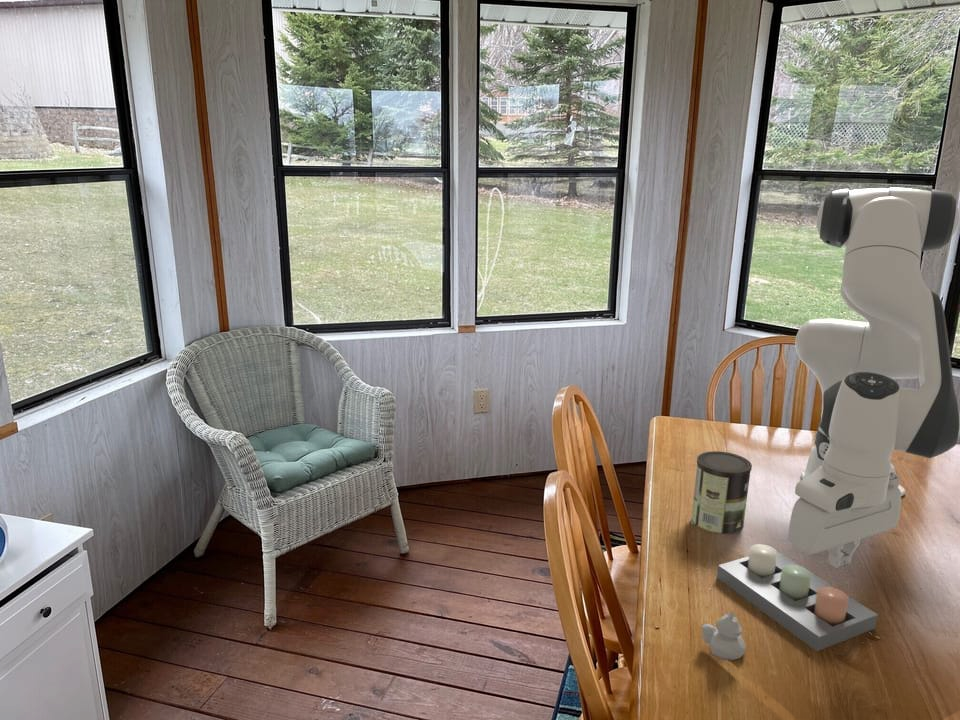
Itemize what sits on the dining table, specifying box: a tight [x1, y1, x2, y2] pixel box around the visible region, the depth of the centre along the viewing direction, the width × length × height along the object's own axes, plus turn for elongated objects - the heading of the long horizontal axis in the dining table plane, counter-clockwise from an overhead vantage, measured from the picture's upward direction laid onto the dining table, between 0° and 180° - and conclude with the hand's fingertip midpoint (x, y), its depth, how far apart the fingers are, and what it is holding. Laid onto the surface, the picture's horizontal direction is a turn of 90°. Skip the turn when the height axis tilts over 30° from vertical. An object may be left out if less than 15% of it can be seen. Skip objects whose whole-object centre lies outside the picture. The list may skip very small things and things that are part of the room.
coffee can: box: [690, 451, 753, 535], centre depth 144 cm, size 10×10×14 cm
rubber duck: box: [701, 610, 747, 662], centre depth 108 cm, size 5×7×8 cm
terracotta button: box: [814, 587, 849, 627], centre depth 113 cm, size 4×4×5 cm
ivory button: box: [748, 543, 778, 578], centre depth 125 cm, size 4×4×5 cm
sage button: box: [779, 564, 812, 601], centre depth 119 cm, size 4×4×5 cm
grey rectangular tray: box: [716, 551, 879, 652], centre depth 120 cm, size 13×21×4 cm, turn 26°
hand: (838, 563), depth 111 cm, fingers closed
